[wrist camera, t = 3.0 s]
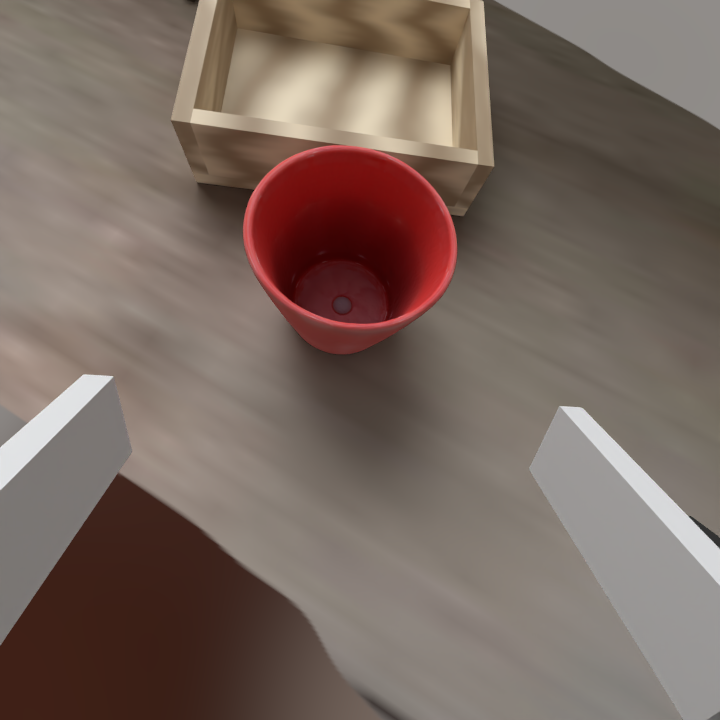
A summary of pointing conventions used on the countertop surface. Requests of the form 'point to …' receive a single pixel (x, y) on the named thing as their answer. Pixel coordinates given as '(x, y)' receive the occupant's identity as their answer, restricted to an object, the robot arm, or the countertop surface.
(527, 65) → the countertop surface
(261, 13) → the pine crate
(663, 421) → the countertop surface
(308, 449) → the countertop surface
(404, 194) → the flower pot
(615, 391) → the countertop surface
